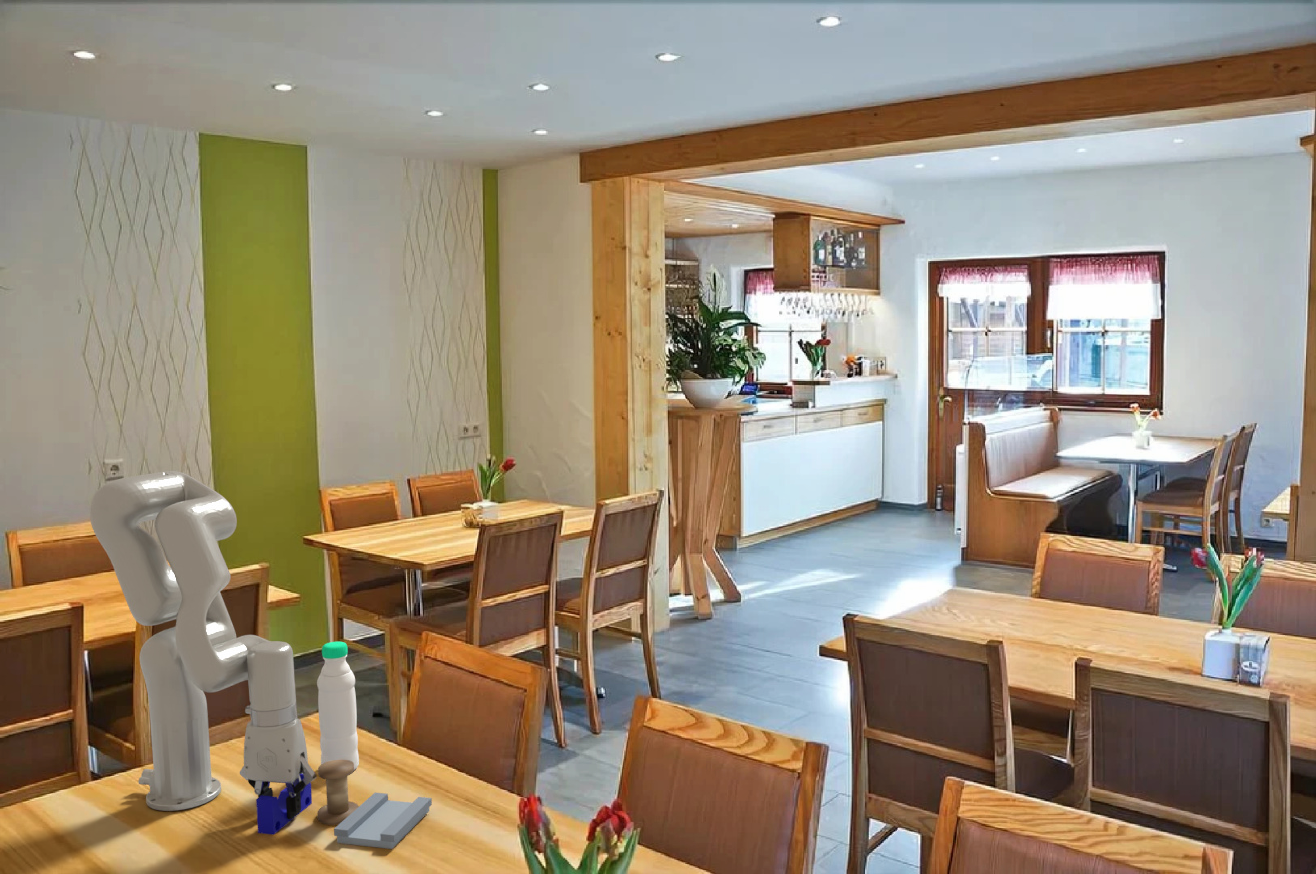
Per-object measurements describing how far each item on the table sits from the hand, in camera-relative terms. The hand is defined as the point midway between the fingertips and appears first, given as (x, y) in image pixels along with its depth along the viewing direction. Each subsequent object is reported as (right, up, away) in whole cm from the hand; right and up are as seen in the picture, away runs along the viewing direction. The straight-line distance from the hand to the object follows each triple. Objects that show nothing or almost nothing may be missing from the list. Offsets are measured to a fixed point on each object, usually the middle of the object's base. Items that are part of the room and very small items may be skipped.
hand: (280, 813), depth 186 cm
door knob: (+10, -1, +1) cm, 10 cm away
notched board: (+19, -1, -3) cm, 19 cm away
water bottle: (+4, +1, +21) cm, 21 cm away
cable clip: (0, -1, +1) cm, 1 cm away
